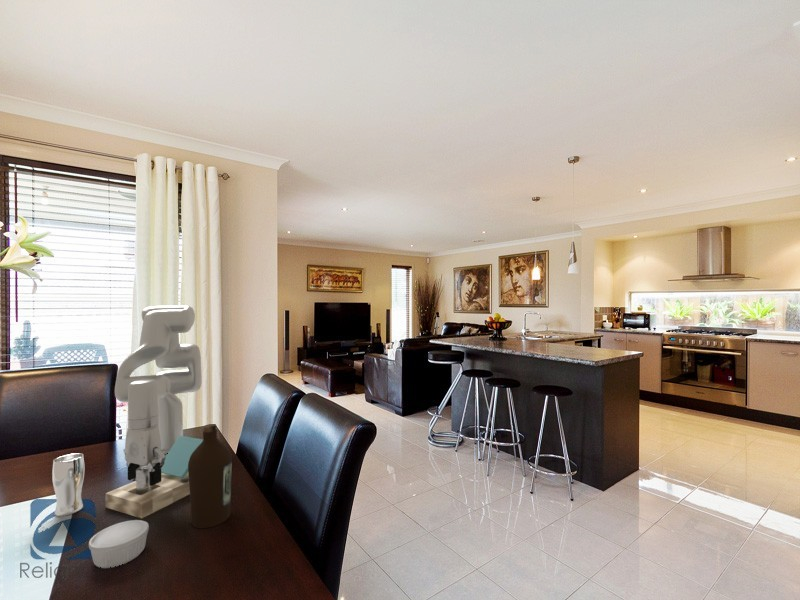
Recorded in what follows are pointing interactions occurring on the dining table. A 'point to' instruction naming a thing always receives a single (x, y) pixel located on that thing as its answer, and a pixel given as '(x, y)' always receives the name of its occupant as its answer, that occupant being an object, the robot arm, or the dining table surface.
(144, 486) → the steel peg
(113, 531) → the ramekin
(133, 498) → the wooden block
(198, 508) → the olive oil
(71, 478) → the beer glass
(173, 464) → the latch flap
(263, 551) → the dining table surface
